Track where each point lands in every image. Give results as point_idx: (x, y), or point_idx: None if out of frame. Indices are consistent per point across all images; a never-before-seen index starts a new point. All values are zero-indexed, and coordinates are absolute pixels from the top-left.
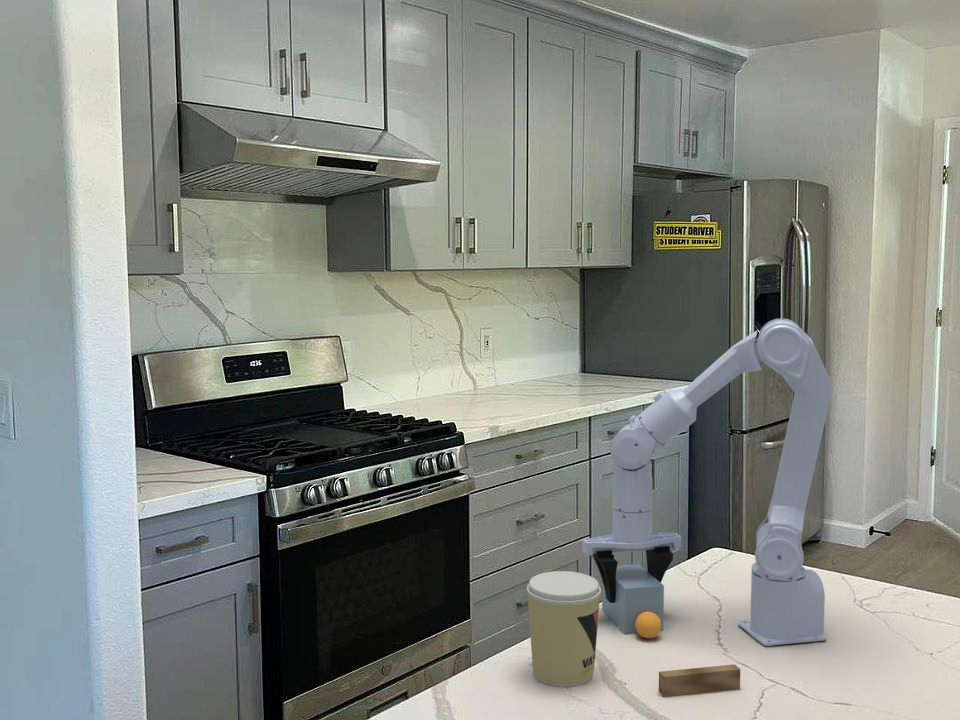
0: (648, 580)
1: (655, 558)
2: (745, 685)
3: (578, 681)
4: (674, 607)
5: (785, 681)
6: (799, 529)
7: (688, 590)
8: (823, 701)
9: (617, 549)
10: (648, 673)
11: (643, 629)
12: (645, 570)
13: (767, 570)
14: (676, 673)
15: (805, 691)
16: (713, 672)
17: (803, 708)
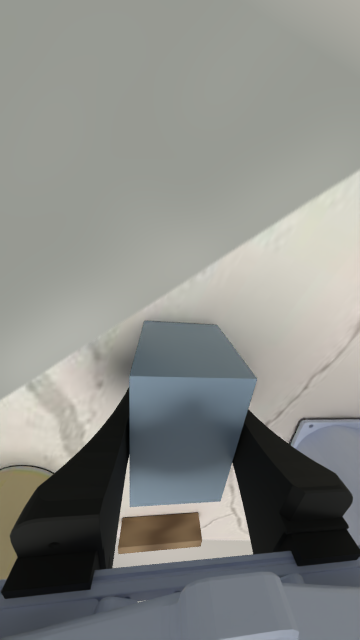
0: (206, 478)
1: (258, 533)
2: (205, 514)
3: None
4: (270, 344)
5: (242, 511)
6: None
7: (354, 273)
8: (244, 532)
9: (124, 597)
10: (127, 493)
11: None
12: (240, 425)
13: None
14: (134, 549)
15: (244, 522)
16: (172, 548)
17: (223, 537)
